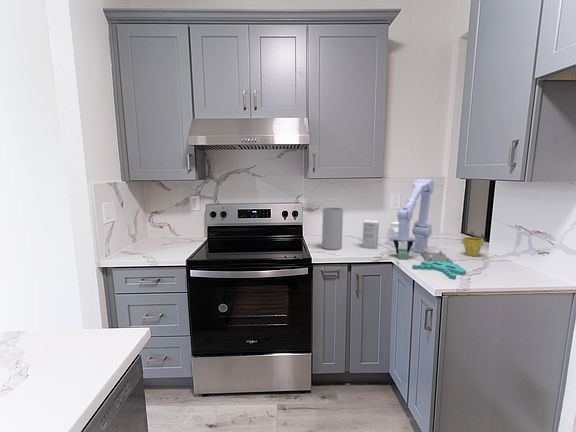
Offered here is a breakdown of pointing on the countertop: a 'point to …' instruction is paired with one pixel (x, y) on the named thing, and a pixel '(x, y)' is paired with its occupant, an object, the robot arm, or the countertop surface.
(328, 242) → the cylinder vase
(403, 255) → the green block
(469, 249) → the plant pot
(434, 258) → the chassis
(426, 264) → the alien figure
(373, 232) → the supplement box
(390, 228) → the jar
